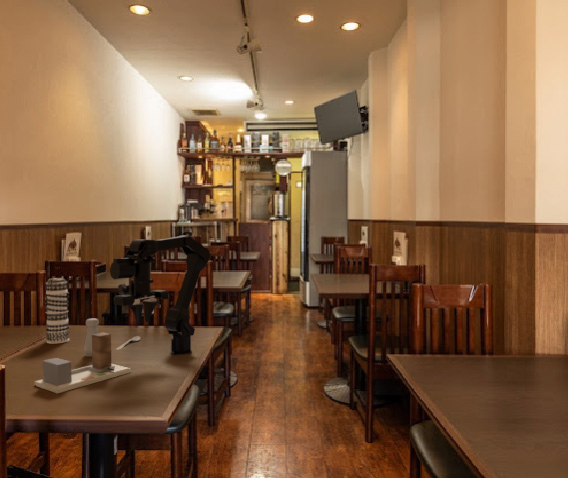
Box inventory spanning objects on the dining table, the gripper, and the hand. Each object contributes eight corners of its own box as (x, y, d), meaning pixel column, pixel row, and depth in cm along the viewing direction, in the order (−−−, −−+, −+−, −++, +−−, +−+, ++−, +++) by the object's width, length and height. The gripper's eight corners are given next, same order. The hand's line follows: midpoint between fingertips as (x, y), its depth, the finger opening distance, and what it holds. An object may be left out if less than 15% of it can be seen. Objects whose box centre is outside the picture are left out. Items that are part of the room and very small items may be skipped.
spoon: (143, 339, 204) (143, 335, 204) (118, 353, 184) (118, 348, 183) (133, 339, 205) (133, 335, 204) (107, 352, 184) (107, 348, 184)
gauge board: (107, 366, 165) (107, 344, 165) (130, 372, 158) (130, 349, 157) (34, 385, 146) (34, 360, 145) (57, 393, 138) (56, 367, 138)
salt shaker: (95, 357, 175) (94, 320, 175) (80, 357, 176) (79, 320, 176) (104, 353, 181) (103, 317, 180) (90, 353, 182) (89, 317, 182)
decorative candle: (73, 341, 200) (71, 278, 199) (47, 345, 195) (45, 280, 194) (68, 337, 208) (66, 276, 207) (43, 340, 202) (41, 278, 202)
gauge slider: (103, 365, 160) (102, 331, 160) (120, 370, 155) (119, 335, 155) (89, 369, 156) (88, 334, 156) (106, 374, 151) (105, 338, 151)
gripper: (148, 273, 182) (149, 316, 182) (103, 278, 167) (104, 325, 167) (169, 274, 175) (170, 319, 175) (124, 280, 160) (124, 328, 160)
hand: (142, 323), depth 170 cm, fingers open, 3 cm apart
